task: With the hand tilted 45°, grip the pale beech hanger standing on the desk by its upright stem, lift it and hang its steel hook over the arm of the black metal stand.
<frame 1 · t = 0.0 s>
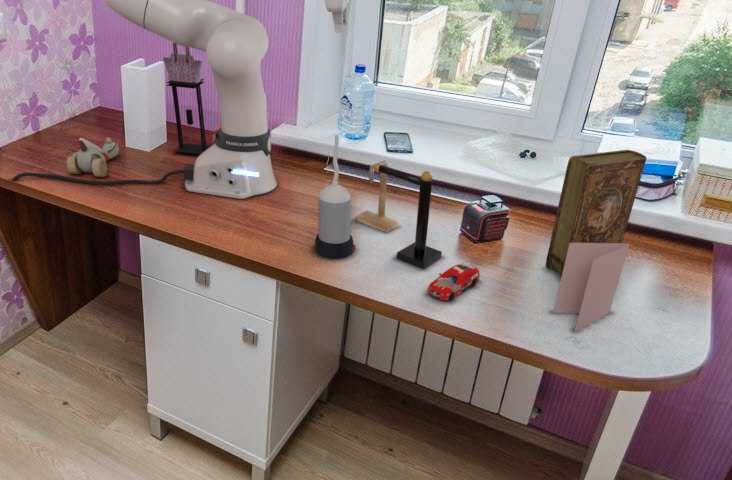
hand: (341, 28, 144), 39 cm above the table, tool pointing down, fingers open, 8 cm apart
greeting card: (586, 321, 123), on the table
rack: (419, 258, 139), on the table
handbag: (193, 151, 182), on the table
race car: (453, 289, 129), on the table
toy dog: (97, 167, 167), on the table
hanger: (381, 221, 152), on the table
book: (581, 269, 140), on the table
humidifier: (334, 250, 139), on the table
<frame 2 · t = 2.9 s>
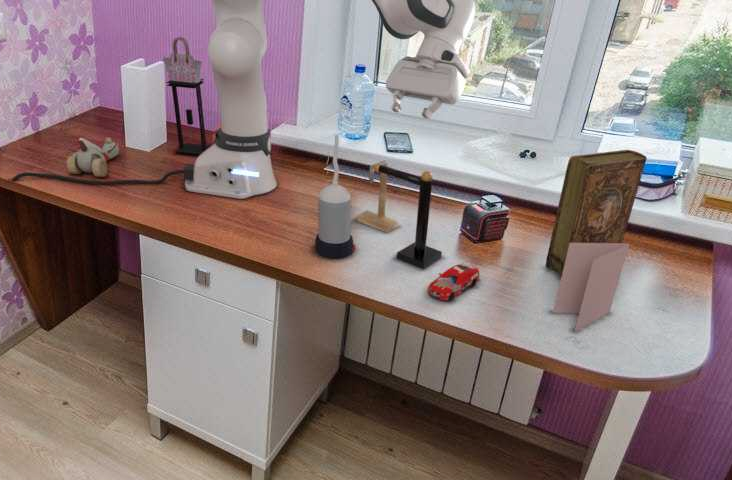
hand: (409, 114, 148), 23 cm above the table, tool tilted 40°, fingers open, 8 cm apart
nothing on the table moved.
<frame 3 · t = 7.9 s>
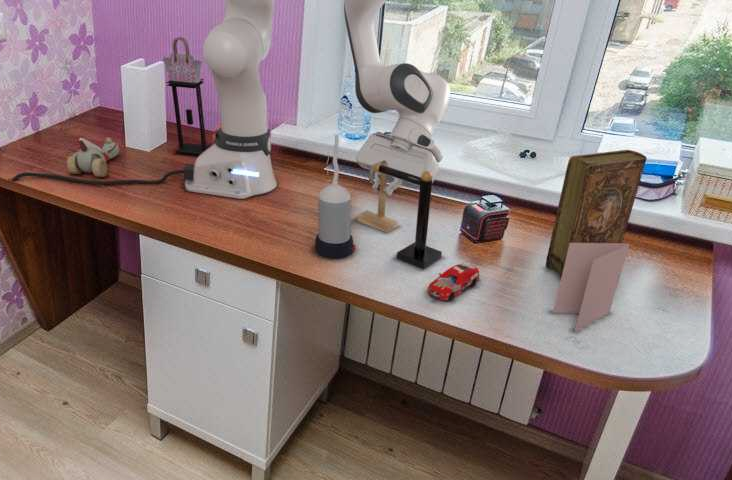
hand: (381, 192, 148), 8 cm above the table, tool tilted 45°, fingers closed on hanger
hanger: (380, 221, 152), on the table, touching gripper
everything else where it was.
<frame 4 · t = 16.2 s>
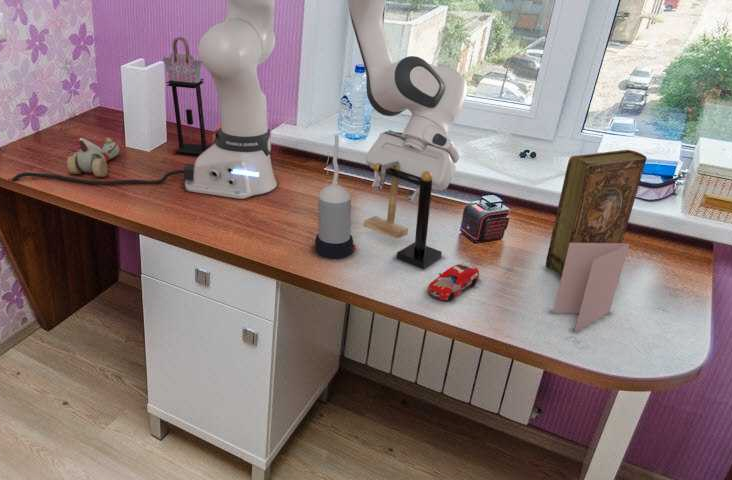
hand: (393, 195, 137), 11 cm above the table, tool tilted 45°, fingers open, 8 cm apart
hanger: (389, 228, 141), point 4 cm above the table, touching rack
everything else where it was.
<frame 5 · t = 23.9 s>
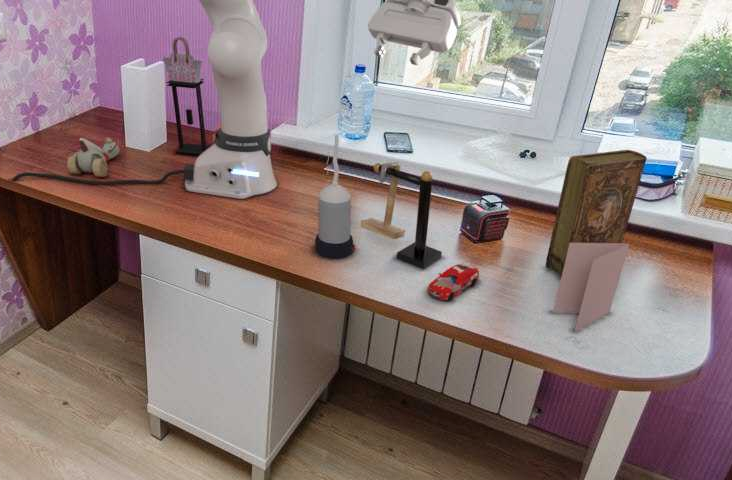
hand: (395, 59, 138), 35 cm above the table, tool tilted 45°, fingers open, 8 cm apart
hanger: (386, 230, 140), point 4 cm above the table, tilted 10°, touching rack
everything else where it was.
at the end: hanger 1.5 cm from the target spot on the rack, point 3.6 cm above the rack's base; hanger touching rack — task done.
